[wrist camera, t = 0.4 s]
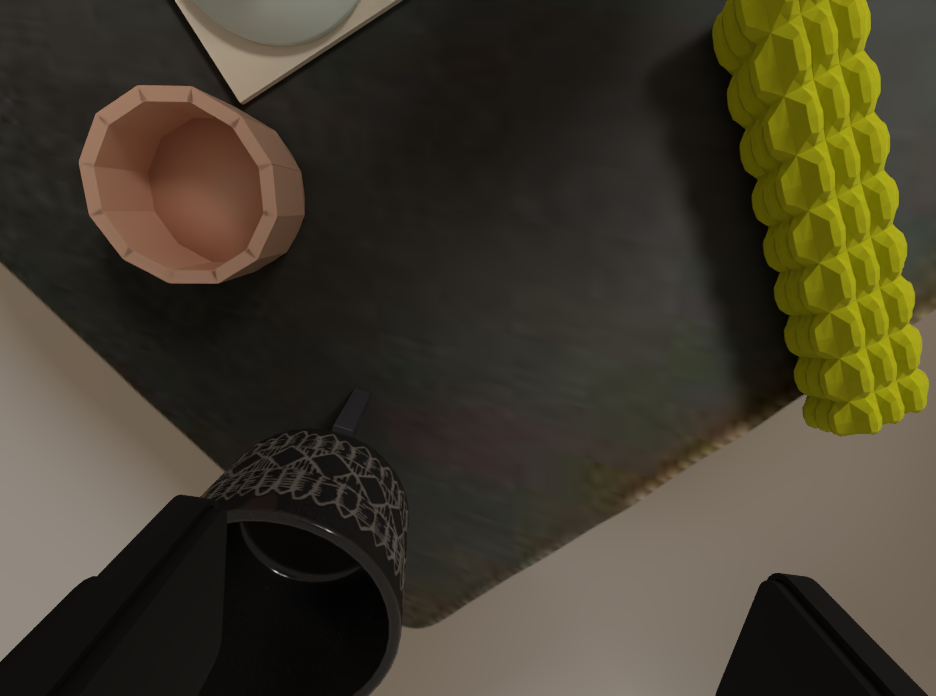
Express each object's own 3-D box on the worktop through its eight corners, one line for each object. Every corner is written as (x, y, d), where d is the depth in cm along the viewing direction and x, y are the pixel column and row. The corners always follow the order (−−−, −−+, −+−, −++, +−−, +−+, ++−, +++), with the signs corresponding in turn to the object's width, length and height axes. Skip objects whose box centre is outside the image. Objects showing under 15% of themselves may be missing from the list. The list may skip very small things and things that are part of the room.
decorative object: (790, -46, 31) (884, -116, 25) (874, 393, 40) (960, 430, 34) (684, 3, 32) (747, -52, 25) (790, 425, 41) (857, 468, 34)
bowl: (242, 74, 32) (196, 45, 26) (335, 223, 35) (312, 226, 29) (112, 161, 33) (40, 151, 28) (211, 298, 36) (166, 315, 30)
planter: (291, 530, 42) (179, 751, 25) (243, 393, 38) (75, 541, 21) (437, 503, 41) (426, 707, 24) (403, 362, 38) (362, 487, 21)
